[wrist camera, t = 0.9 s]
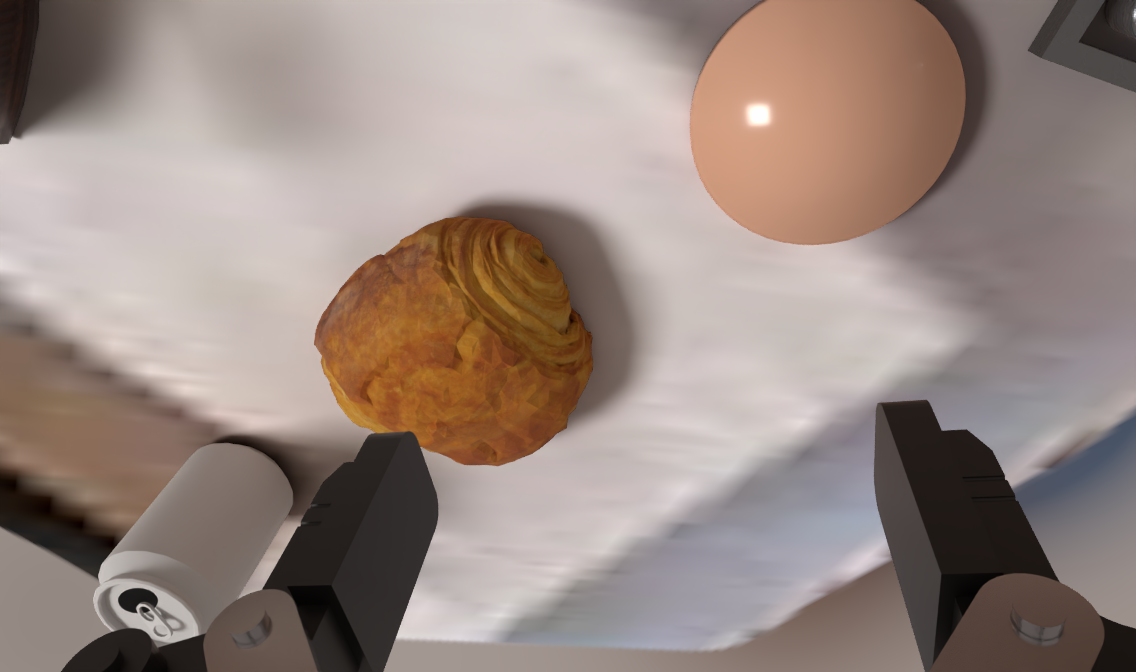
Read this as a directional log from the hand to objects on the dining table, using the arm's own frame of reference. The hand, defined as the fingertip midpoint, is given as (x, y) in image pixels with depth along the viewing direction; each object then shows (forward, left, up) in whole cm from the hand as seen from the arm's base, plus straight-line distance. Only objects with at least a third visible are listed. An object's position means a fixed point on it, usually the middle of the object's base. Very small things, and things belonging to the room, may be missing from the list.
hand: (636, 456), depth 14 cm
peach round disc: (-1, +7, -27) cm, 28 cm away
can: (+34, -18, -27) cm, 47 cm away
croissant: (+17, -6, -28) cm, 33 cm away
